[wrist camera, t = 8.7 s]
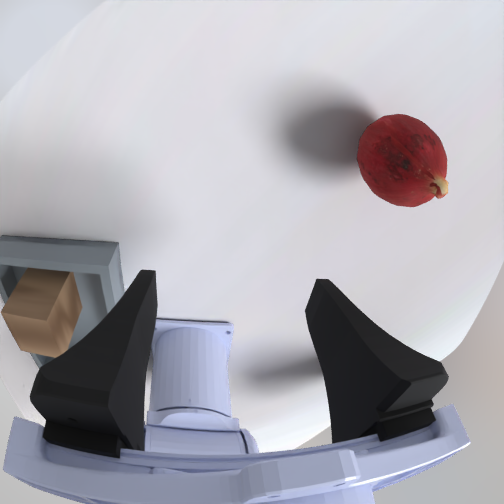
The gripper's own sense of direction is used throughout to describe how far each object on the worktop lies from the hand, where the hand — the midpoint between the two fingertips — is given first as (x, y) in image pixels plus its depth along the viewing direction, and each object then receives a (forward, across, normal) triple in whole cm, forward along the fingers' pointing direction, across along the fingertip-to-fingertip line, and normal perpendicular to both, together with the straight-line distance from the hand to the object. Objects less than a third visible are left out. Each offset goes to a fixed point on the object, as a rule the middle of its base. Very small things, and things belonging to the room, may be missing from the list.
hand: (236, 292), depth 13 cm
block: (+9, +14, +8) cm, 19 cm away
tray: (+9, +14, +12) cm, 21 cm away
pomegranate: (+10, -10, -6) cm, 15 cm away
